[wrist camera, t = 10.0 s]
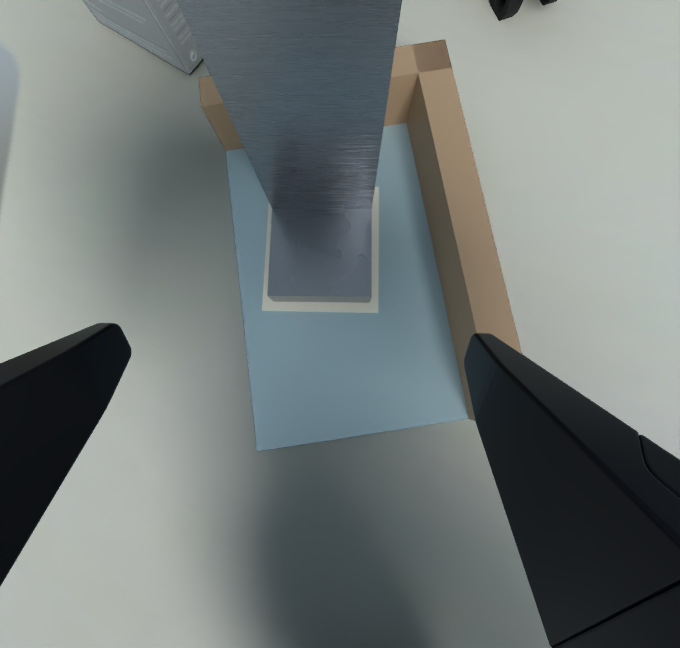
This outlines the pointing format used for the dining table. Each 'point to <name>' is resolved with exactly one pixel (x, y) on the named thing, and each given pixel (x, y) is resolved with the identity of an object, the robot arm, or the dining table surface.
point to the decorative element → (509, 7)
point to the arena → (377, 278)
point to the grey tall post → (307, 127)
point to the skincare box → (151, 28)
